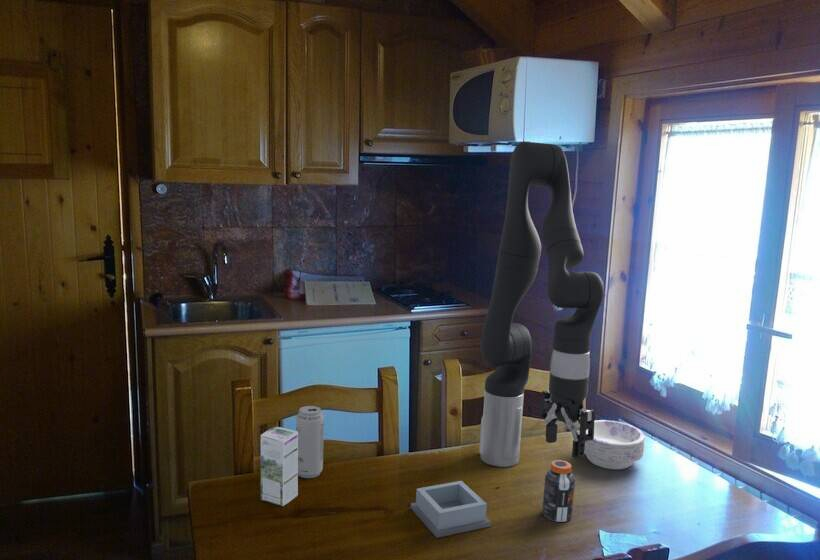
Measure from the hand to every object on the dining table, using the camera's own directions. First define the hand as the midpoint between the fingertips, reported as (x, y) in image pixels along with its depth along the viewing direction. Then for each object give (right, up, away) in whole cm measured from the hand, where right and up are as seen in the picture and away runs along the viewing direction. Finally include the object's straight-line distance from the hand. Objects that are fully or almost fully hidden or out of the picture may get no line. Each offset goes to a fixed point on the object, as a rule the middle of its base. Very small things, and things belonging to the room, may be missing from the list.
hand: (563, 449), depth 138 cm
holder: (-23, -14, 0) cm, 27 cm away
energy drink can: (-54, -10, +16) cm, 57 cm away
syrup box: (-58, -11, +5) cm, 59 cm away
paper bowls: (+18, -10, +29) cm, 36 cm away
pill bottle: (-1, -14, +3) cm, 15 cm away
